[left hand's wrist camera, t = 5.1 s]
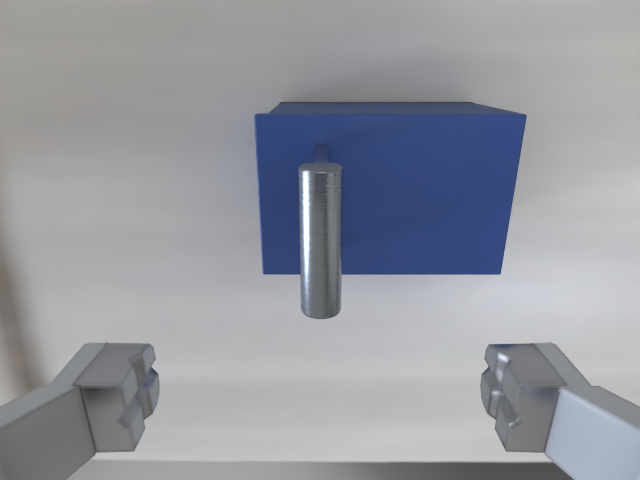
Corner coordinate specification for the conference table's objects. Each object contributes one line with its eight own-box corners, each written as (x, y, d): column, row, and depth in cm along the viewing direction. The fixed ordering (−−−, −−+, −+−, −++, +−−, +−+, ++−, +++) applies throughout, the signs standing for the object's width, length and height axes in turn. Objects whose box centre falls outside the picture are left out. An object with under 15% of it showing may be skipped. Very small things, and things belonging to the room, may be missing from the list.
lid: (264, 269, 27) (242, 346, 19) (256, 113, 24) (225, 133, 16) (495, 269, 27) (564, 346, 19) (520, 113, 24) (615, 133, 16)
